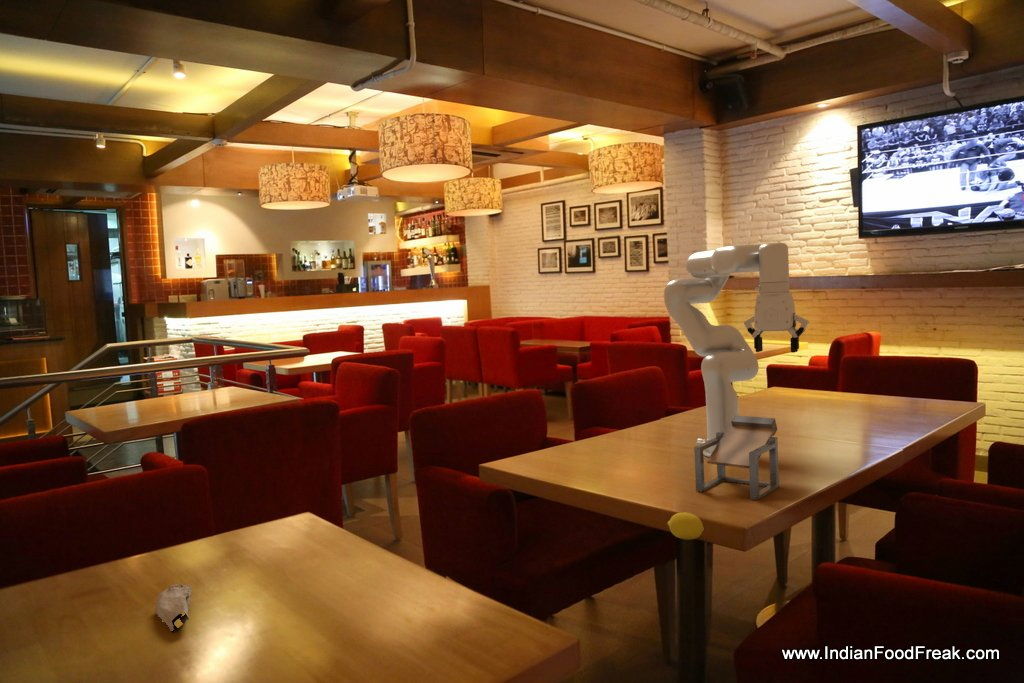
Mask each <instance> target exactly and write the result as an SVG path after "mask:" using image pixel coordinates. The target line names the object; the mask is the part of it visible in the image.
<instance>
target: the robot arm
mask: <svg viewBox="0 0 1024 683" xmlns="http://www.w3.org/2000/svg"><path fill="white" fill-rule="evenodd" d="M685 263H686V264H685V269H686V272H687V273H688V274H689V275H690V276H691V277H682V278H676V279H673V280H671V281H669V282H668V283H667V284H666V286H665V287H664V290H663V300H664V304H665V307H666V308H665V309H666V310H667V312H668V314H669V315H670V317H671V318H672V319H673V320H674V322H675V323H676V324H677V325H678V326H679V328H680V330H681V331H682V333H683V335H684V336H685V338H686V339H687V341H688V343H689V344H690V346H691V348H692V350H693V351H694V352H695V354H696V355H697V356H700V357H703V359H702V361H701V364H700V365H701V366H700V369H701V375H702V379H703V382H704V391H705V404H706V405H705V407H706V408H705V410H706V432H707V434H706V436H707V438H706V439H703V438H697V439H696V446H698V445H700V444H702V443H705V442H707V441H709V440H712V439H714V438H716V433H718V432H723V433H724V434H725V433H726V431H727V430H728V428H729V427H730V425H732V423H731V420H732V419H733V417H734V416H735V415H736V416H740V413H739V412H740V411H739V408H740V407H739V396H738V394H737V391H736V390H735V388H734V386H733V385H732V383H736V382H743V381H750V380H752V379H754V378H755V377H756V376H757V375H758V373H759V368H760V367H759V361H758V359H757V357H756V355H755V353H759V352H763V336H761V335H762V334H763V333H764V332H788V333H789V334H790V335H791V337H790V353H792V354H794V353H797V352H798V351H799V349H800V337H801V335H802V334H803V333H805V331H806V329H807V327H808V325H809V323H810V322H809V320H808V319H806V318H804V317H802V316H800V315H798V314H796V307H795V301H794V296H793V293H790V268H789V267H790V266H789V246H788V245H787V244H786V243H785V242H772V243H771V242H770V243H769V242H768V243H763V244H761V243H760V244H741V245H740V244H739V245H738V244H735V245H730V246H723V247H718V248H713V249H708V250H700V251H697V252H694V253H692V254H691V255H689V257H688V258H687V260H686V262H685ZM750 272H752V273H753V272H758V273H759V277H758V278H759V283H758V285H755V286H754V289H755V291H758V292H759V294H757V295H756V298H755V305H754V316H752V317H750V318H749V319H747V320H745V321H744V322H743V324H744V326H745V328H746V331H747V332H748V333H749V335H751V336H752V338H753V344H754V348H753V349H754V350H755V353H754V350H752V348H751V347H750V345H749V343H748V342H747V341H746V339H745V338H744V336H743V335H742V333H741V332H740V330H739V329H738V328H736V327H735V326H734V325H730V324H721V325H718V324H717V325H714V324H712V323H710V322H709V320H708V319H707V317H706V316H705V314H704V313H703V312H702V311H701V310H700V309H698V308H696V307H695V306H694V304H705V303H711V302H713V301H715V300H716V299H717V298H718V296H719V295H720V293H721V292H722V290H723V288H724V286H725V285H726V283H727V282H728V280H729V278H730V276H731V274H734V273H735V274H738V273H750ZM692 304H693V305H692ZM797 322H798V323H799V324H800V327H798V329H797V328H796V327H797ZM752 324H754V327H753V325H752ZM715 448H716V445H713V446H711V447H709V448H707V449H704V450H703V456H705V457H707V458H709V457H710V456H711V454H712V453H713V451H714V449H715Z"/></svg>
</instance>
